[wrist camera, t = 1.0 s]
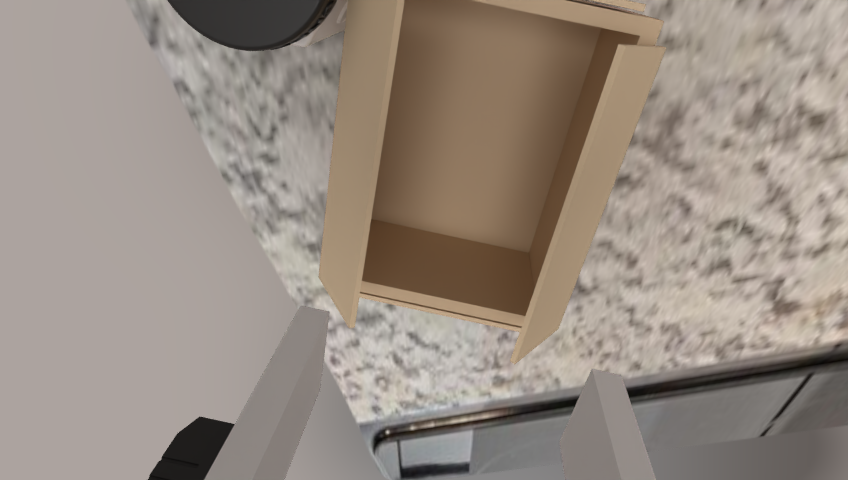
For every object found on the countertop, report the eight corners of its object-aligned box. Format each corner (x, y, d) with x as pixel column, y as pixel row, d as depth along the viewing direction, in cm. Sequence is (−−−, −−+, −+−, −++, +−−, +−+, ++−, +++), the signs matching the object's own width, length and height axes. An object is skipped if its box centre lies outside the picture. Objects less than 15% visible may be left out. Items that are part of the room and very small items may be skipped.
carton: (394, -49, 32) (363, -55, 24) (622, -1, 31) (668, 9, 23) (356, 227, 40) (324, 290, 32) (533, 265, 40) (545, 338, 32)
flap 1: (356, -19, 24) (350, -20, 24) (404, -2, 20) (397, -2, 20) (323, 276, 31) (318, 277, 31) (354, 327, 28) (349, 328, 27)
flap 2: (618, 44, 20) (625, 46, 20) (659, 46, 24) (666, 47, 23) (510, 361, 28) (514, 364, 27) (553, 326, 31) (558, 329, 31)
